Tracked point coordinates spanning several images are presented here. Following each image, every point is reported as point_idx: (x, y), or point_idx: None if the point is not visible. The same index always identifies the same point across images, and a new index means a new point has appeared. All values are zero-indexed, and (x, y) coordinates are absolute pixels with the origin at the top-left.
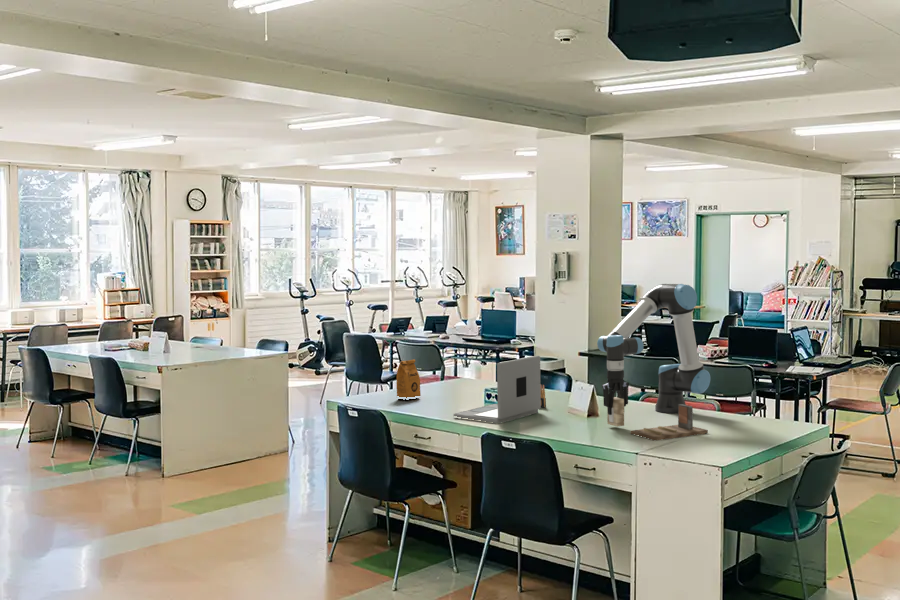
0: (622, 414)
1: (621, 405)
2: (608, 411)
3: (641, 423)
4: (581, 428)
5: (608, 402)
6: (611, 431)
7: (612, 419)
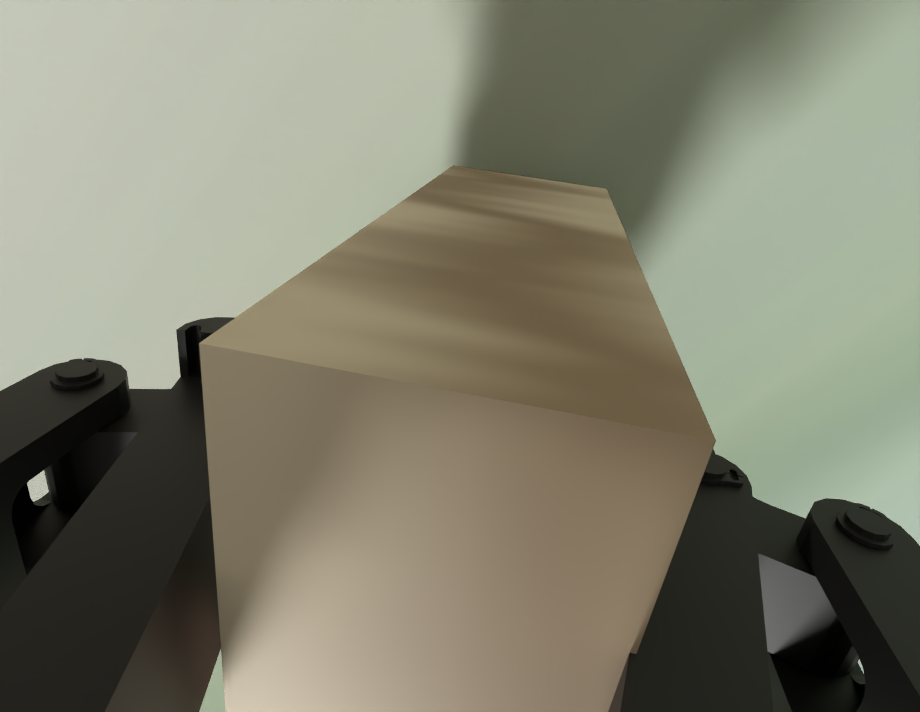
0: (455, 203)
1: (436, 272)
2: None
3: (36, 286)
4: None
5: (888, 609)
6: (770, 147)
7: None
